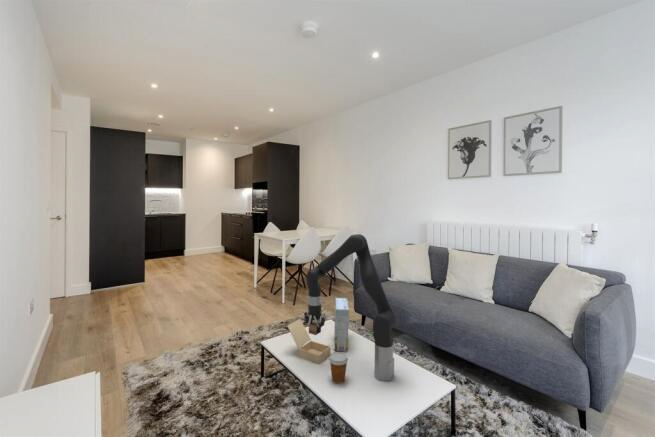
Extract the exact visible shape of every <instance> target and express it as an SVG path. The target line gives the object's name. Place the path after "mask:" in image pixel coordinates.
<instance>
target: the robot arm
mask: <svg viewBox="0 0 655 437" xmlns="http://www.w3.org/2000/svg"><path fill="white" fill-rule="evenodd" d="M354 253H355V255H356V257H357V259H358V262H359V264H358V265H359V275H360V281H361V283H362V286H363V288H364V290H365V292H366V294H367V295H368V296H369V297H370V298H371V299H372V301H373V302H374V304H375V307H376V309H377V314H376V315H375V316H374V317H373V320H372V336H373V339H374V370H373V371H374V372H373V373H374V374H373V375H374V377H375V378H376V379H377V380H379V381H382V382H383V381H384V382H391V381H392V379H393V378H394V376H395V357H394V339H393V337H392V336H391V329H392V328H393V327H394V326H395V325H396V322H397V321H396V316H395V313H394V312H393V309H392V307H391V306H390V303H389V300H388V299H387V296H386V293H385V290H384V287H383V285H382V282H381V279H380V276H379V274H378V271H377V268H376V265H375V263H374V260H373V259H372V256H371V255H372V254H371V252H370V249H369V244H368V240H367V238H366V237H365V235H362V234H361V233H359V234H357V233H356V234H351V235H349V237H348V238H347V239H346V240H345V241H344V242H343V243H342V244H341V245H340V246H339V247H338V248H337V249H336V250H335V251H333V252H332V253H331V254H329V255H328V256H326V258H324V259H323V260H322V261H320V263H319V264H317V265H316V266H315V267H313V268H311V269H310V270H307V273H306V276H305V278H306V282H307V283H306V284H307V288H308V297H307V302H308V303H307V311H306V312H303V316H304V321H305V323H306V324H308V326H309V324H311V323H312V322H316V324H317V333H318V334H317V335H319V334H320V333H322V327H324V326H325V321H326V318H327V317H326V316H325V315H322V288H321V285H320V284H319V282H318V281H319V280H320V279H322V278H323V277H324V276H326V274H328V273H329V272H330V271H332V270H334V269H335V268H336V267H337V266H338V265H340V264H341V262H342V261H343V260H345V258H347V257H348V256H350V255H352V254H354Z"/></svg>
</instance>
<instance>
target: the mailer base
mask: <svg viewBox="0 0 655 437" xmlns="http://www.w3.org/2000/svg"><path fill="white" fill-rule="evenodd" d="M331 348H332V346H330V345H325V344H323V343H320V342H317V341H313V340H310V341H308V342H307V343H305V344H304V345H302V346H301V347H299V348H298V358H300V359H302V360H305V361H308V362H311V363H314V364H316V365H320V364H321V363H323V362H324V361H325V360H326V359H327V358H329V357H330V355H331V354H332V353H331Z"/></svg>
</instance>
